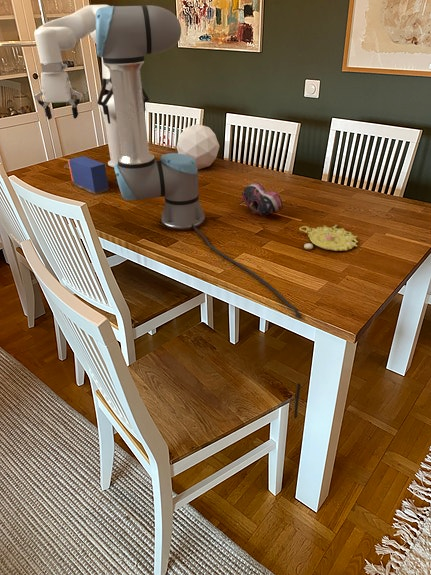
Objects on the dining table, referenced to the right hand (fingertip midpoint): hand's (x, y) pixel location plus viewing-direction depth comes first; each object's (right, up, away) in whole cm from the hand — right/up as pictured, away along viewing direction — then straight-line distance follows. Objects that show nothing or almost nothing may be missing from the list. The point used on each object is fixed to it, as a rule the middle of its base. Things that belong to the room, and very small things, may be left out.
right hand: (126, 121), depth 180 cm
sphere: (+29, -11, +28) cm, 42 cm away
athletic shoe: (+52, -40, -17) cm, 68 cm away
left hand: (-21, -3, -12) cm, 25 cm away
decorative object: (+73, -52, -38) cm, 97 cm away
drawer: (-21, -22, +12) cm, 33 cm away
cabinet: (-17, -25, +9) cm, 31 cm away
